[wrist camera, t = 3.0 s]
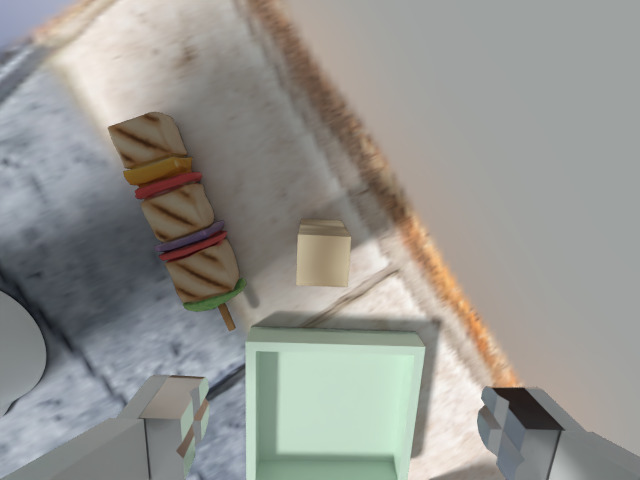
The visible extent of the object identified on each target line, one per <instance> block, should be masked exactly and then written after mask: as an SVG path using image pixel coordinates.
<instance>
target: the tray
mask: <svg viewBox="0 0 640 480" xmlns="http://www.w3.org/2000/svg"><path fill="white" fill-rule="evenodd" d="M425 348H426V347H425V345H424V344H423V342H422V341H421V339H420V338H419V336H418V335H417V333H416V332H412V331H379V330H347V329H315V328H283V327H251V329H250V332H249V334H248V337H247V339H246V480H407V479H408V472H409V464H410V457H411V450H412V442H413V435H414V428H415V421H416V413H417V406H418V399H419V391H420V384H421V377H422V370H423V362H424V355H425Z"/></svg>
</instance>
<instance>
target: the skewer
mask: <svg viewBox="0 0 640 480" xmlns="http://www.w3.org/2000/svg"><path fill="white" fill-rule="evenodd" d="M108 130H109V133H110V136H111V139H112V141H113V144H114V145H115V147H116V149H117V151H118V153H119V155H120V157H121V159H122V162H123V165H124V167H125V168H127V169H131V170H127V171H123V172H124V177H125V178H126V180H127V181H128V182H129V183H130V185H137V186H139V188H138V189H137V190H136V191H135V193H136V195H135V197H136V198H138V199H145V200H144V201H143V202H142V203H141V204H140V205H141V208H142V211H143V213H144V215H145V217H146V219H147V221H148V222H149V224H150V226H151V228H152V230H153V232H154V234H155V237H156V238H157V239H159V240H160V241H161V242H163V243H161V244H158V245H155V246H153V247H154V249H155V250H156V251H157V252H164V253H163V254H161V255H159V258H160V259H161V260H163V261H164V260H168V261H167V262H166V263H165V266H166V268H167V270H168V272H169V274H170V276H171V277H172V280H173V283H174V286H175V289H176V292H177V294H178V296H179V297H180V299H181V301H182V302H183V306H184V308H185V309H187V310H190V311H196V312H198V311H205V310H211V309H215V308H216V307H218V308H219V310H220V312H221V315H222V317H223V319H224V321H225V323H226V325H227V328H228V330H229V331H231V330H235V328H236V327H235V324H234V322H233V320H232V318H231V315H230V313H229V311H228V308H227V306H226V304H225V302H226V301H228V300H229V299H231V298H232V297H234V296H236V295H237V294H239V293H240V292H241V291H243V289H244V286H245V285H246V282H245V279H244V278H241V279H239V270H238V266H237V262H236V259H235V255H234V252H233V249H232V248H231V246H230V244H229V242H228V240H227V239H224V238H225V237H226V236H227V232H226V231H220V230H221V229H222V227H223V226H224V220H222V221H219V222H216V223H213V222H214V213H213V209H212V206H211V205H210V203H209V201H208V199H207V197H206V195H205V190H204V187H203V184H198V183H197V182H198V181H200V180H201V178H202V174H201V173H200V172H191V162H192V158H193V157H184V156H186V155H188V153H187V151H186V149H185V147H184V145H183V142H182V139H181V136H180V133H179V130H178V128H177V126H176V124H175V122H174V120H173V118H171V117H170V116H168V115H165V114H163V113H159V112H151V113H147V114H145V115H142V116H139V117H136V118H133V119H130V120H127V121H124V122H121V123H118V124H115V125H112V126H109V127H108ZM169 259H170V260H169Z"/></svg>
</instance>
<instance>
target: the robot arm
mask: <svg viewBox="0 0 640 480" xmlns="http://www.w3.org/2000/svg"><path fill="white" fill-rule="evenodd" d="M45 364H46V347H45V343H44V339H43V336H42V334H41V331H40V329H39V327H38V326H37V324H36V322H35V321H34V319H33V318H32V317H31V315H30V314H29V313H28V312H27V311H26V310H25V309H24V308H23V307H22V306H21V305H20V304H19V303H18V302H17V301H15V300H14V299H13V298H11V297H10V296H8V295H7V294H5V293H3V292H2V291H0V418H1V417H3V415H4V414H5V413H6V411H7V410H8V408H9V406H10V405H11V403H12V402H13V401H15V400H16V399H18V398H19V397H21V396H23V395H25V394H26V393H28V392H29V391H30V390H31V389H32V388H33V387H34V386H35V385H36V384H37V383H38V381H39V380H40V378H41V376H42V374H43V372H44V369H45ZM208 390H209V389H208V379H207V378H206V377H195V376H177V375H172V376H170V375H153V376H150V377H149V378H148V380H147V381H146V382H145V383H144V384H143V386H142V387H141V388H140V389H139V391H138V392H137V393H136V394H135V395H134V397H133V398H132V399H131V400H130V401H129V403H128V404H127V405H126V406H125V408H124V409H123V410H122V411H121V412H120V414H119V415H118V416H117V417H116V418H109V419H107V420H105V421H104V422H102V423H100V424H98V425H96V426H95V427H93V428H91V429H89V430H88V431H86V432H84V433H82V434H80V435H79V436H77V437H75V438H73V439H71V440H70V441H68V442H66V443H64V444H62V445H61V446H59V447H57V448H55V449H53V450H52V451H50V452H48V453H46V454H44V455H43V456H41V457H39V458H37V459H35V460H34V461H32V462H30V463H28V464H27V465H25V466H23V467H21V468H19V469H18V470H16V471H14V472H12V473H10V474H9V475H7V476H5V477H3V478H1V479H0V480H185V478H186V476H187V474H188V471H189V469H190V467H191V465H192V462H193V460H194V458H195V446H196V445H197V444H198V443H200V442H201V441H202V439H203V436H204V434H205V431H206V427H207V423H208V419H209V402H208V401H207V400H206V399H205V396H206V394H207V392H208ZM481 399H482V401H483V402H484V404H485V405H484V406H483V407H482V408H481V409H480V410H479V412H478V419H477V424H478V430H479V434H480V437H481V439H482V441H483V443H484V445H485V446H486V448H487V449H488V450H489V451H491V452H492V453H493V454H495V455H496V456H497V463H496V464H497V466H498V467H499V469H500V470H501V472H502V474H503V475H504V477H505V478H506V480H640V457H639V456H637V455H635V454H633V453H631V452H629V451H627V450H626V449H624V448H622V447H620V446H618V445H616V444H615V443H613V442H611V441H609V440H607V439H605V438H603V437H601V436H599V435H598V434H596V433H594V432H587V431H586V430H584V429H583V428H582V426H580V425H579V424H578V423H577V422H576V421H575V420H574V419H573V418H572V417H571V416H570V415H569V414H568V413H567V412H566V411H565V410H564V409H563V408H561V407H560V406H559V405H558V404H557V403H556V402H555V401H554V400H553V399H552V398H551V397H550V396H549V395H548V394H547V393H546V392H545V391H544V390H542V389H540V388H538V387H488V386H486V387H485V388H484V390H483V391H482V396H481Z"/></svg>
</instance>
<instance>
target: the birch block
mask: <svg viewBox="0 0 640 480" xmlns="http://www.w3.org/2000/svg"><path fill="white" fill-rule="evenodd" d="M350 247H351V236H350V234H349V232H348V231H347V229H346V227H345V226H344V224H343V223H342V221H341V220H318V219H301V223H300V228H299V232H298V244H297V275H296V285H303V286H331V287H348V275H349V261H350Z"/></svg>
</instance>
